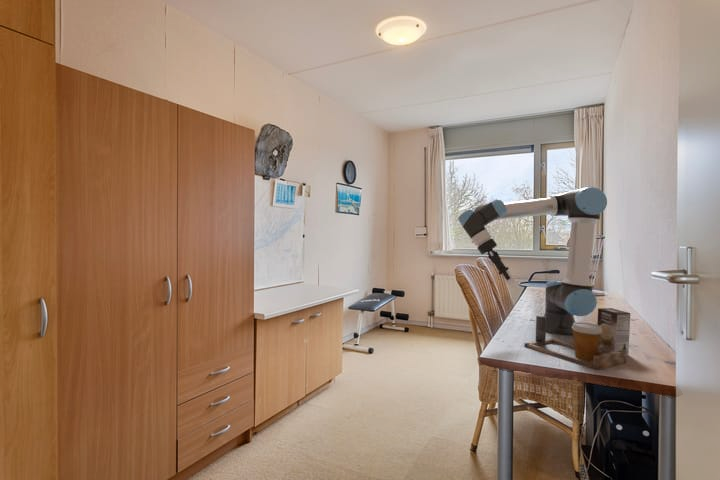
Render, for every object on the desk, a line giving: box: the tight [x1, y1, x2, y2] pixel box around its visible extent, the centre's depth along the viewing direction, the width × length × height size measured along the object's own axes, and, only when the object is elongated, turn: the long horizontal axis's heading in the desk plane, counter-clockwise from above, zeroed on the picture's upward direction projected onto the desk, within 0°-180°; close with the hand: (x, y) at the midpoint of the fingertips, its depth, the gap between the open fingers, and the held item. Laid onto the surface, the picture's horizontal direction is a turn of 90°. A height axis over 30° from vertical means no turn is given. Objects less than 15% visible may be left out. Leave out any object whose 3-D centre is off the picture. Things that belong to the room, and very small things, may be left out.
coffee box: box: [596, 307, 631, 356], centre depth 143 cm, size 9×6×16 cm
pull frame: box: [523, 315, 627, 371], centre depth 139 cm, size 17×29×11 cm, turn 28°
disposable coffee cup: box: [572, 321, 602, 362], centre depth 134 cm, size 10×10×12 cm
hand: (514, 285), depth 154 cm, fingers open, 13 cm apart
